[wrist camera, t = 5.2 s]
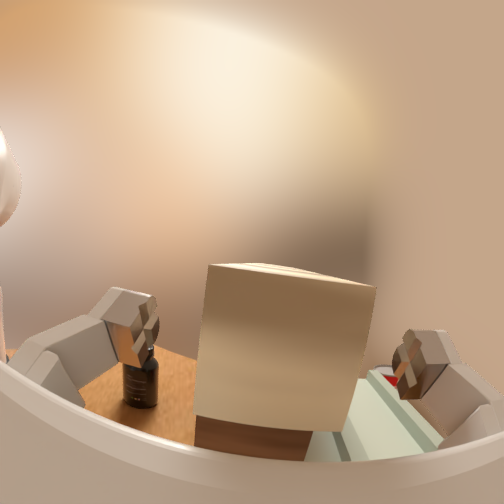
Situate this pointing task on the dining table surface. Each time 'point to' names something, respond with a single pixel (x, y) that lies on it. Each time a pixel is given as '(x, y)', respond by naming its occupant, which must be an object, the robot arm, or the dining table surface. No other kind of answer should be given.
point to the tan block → (280, 346)
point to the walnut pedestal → (251, 439)
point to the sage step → (375, 427)
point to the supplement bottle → (141, 382)
